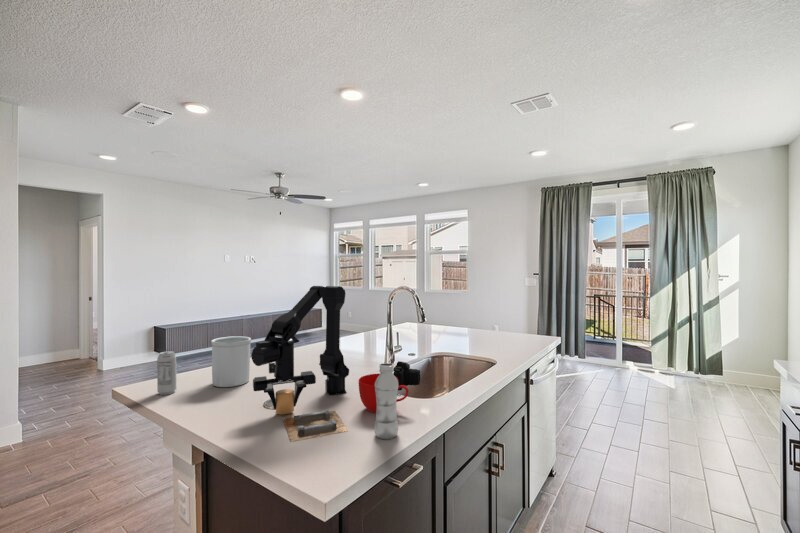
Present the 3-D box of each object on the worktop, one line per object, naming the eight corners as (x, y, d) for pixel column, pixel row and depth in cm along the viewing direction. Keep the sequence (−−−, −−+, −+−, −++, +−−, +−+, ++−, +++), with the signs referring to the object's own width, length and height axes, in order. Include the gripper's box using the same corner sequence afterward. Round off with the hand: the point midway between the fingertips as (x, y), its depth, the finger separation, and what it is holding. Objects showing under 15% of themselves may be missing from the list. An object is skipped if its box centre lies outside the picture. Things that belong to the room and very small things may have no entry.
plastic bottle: (373, 432, 106) (373, 362, 106) (397, 431, 106) (397, 361, 106) (374, 443, 99) (374, 368, 99) (399, 442, 100) (399, 367, 100)
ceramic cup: (401, 422, 113) (401, 389, 113) (351, 414, 119) (351, 383, 118) (414, 406, 125) (414, 376, 125) (368, 400, 131) (368, 371, 131)
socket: (335, 412, 120) (335, 406, 120) (348, 432, 106) (348, 425, 106) (283, 420, 114) (283, 414, 114) (290, 443, 99) (290, 436, 99)
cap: (292, 406, 122) (292, 388, 122) (295, 412, 117) (295, 393, 117) (274, 409, 120) (274, 390, 120) (276, 415, 115) (276, 396, 115)
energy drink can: (180, 390, 142) (179, 350, 142) (168, 395, 136) (168, 354, 136) (165, 389, 143) (165, 350, 142) (153, 395, 137) (153, 354, 137)
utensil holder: (238, 374, 162) (238, 334, 162) (258, 380, 153) (258, 338, 153) (204, 383, 150) (204, 339, 150) (223, 390, 141) (223, 344, 141)
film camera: (416, 392, 139) (416, 368, 139) (390, 390, 141) (390, 367, 141) (422, 380, 154) (421, 358, 154) (399, 379, 156) (398, 357, 156)
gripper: (309, 350, 130) (309, 395, 130) (252, 355, 122) (252, 403, 122) (315, 357, 120) (316, 406, 120) (253, 364, 112) (253, 415, 112)
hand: (284, 407), depth 119 cm, fingers closed on cap, 6 cm apart
